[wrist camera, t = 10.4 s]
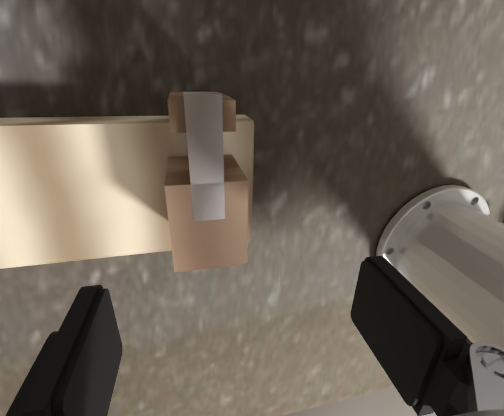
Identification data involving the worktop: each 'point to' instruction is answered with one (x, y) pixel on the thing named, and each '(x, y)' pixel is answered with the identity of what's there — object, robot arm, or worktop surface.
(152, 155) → the birch board
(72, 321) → the robot arm
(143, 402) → the worktop surface
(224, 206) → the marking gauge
